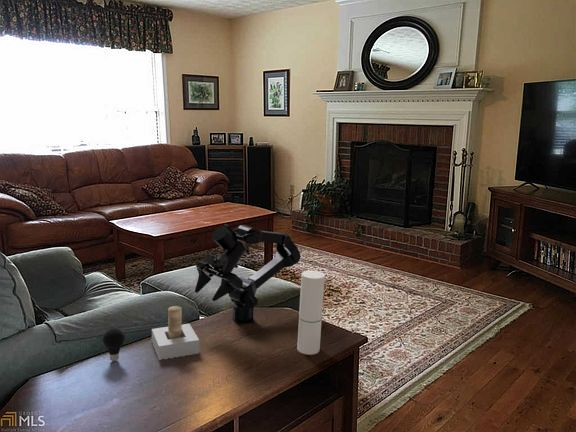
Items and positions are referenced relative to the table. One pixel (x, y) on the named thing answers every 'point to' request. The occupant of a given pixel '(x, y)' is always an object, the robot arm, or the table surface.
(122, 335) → the light bulb
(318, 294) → the cylindrical container
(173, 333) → the peg
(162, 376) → the table surface
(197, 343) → the socket block
